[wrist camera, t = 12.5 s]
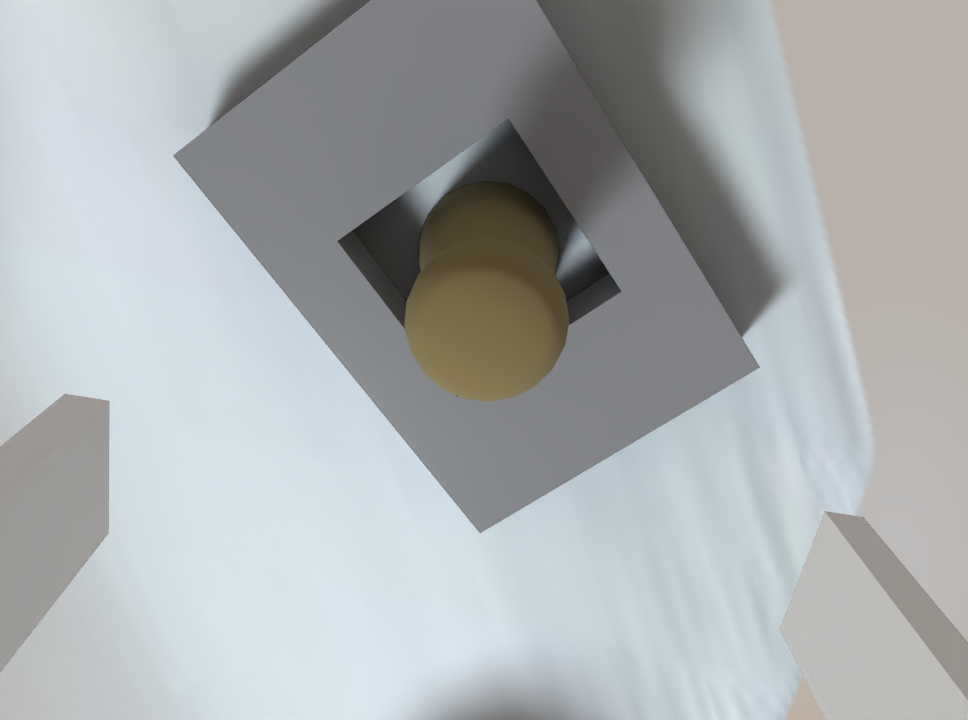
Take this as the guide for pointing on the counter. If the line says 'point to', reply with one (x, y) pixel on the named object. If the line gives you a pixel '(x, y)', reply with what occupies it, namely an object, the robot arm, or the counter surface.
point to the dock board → (411, 158)
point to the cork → (487, 294)
